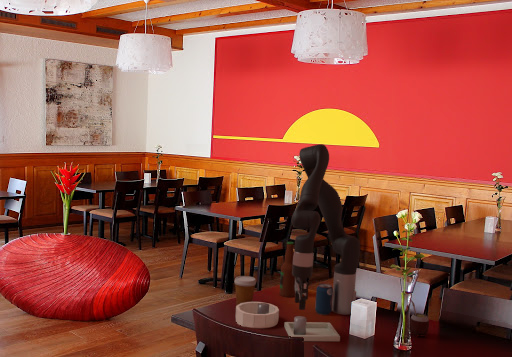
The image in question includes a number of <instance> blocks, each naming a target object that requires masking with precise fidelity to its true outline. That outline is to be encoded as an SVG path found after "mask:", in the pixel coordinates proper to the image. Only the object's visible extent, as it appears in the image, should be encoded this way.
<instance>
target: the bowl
mask: <svg viewBox="0 0 512 357" xmlns="http://www.w3.org/2000/svg"><path fill="white" fill-rule="evenodd" d="M258 303H264V302H262V301H252V302H245V303H240V304H239V305H237V304H236V306H235V323H236V322H237V323H236V324H237V325H238V326H240V325H241V327H243V328H252V329H268V328H272V327H275V326H276V325H277V324H278V322H279V316H280V314H279V313H280V309H279V308H278V306H276V305H274V304H272V303H267V302H266V303H267V304H269V313H268V314H257V309H258Z"/></svg>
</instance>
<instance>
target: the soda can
mask: <svg viewBox="0 0 512 357" xmlns="http://www.w3.org/2000/svg"><path fill="white" fill-rule="evenodd" d="M332 286H333V285H332V284H330V283H322V282H321V283H318V285H317V287H316V291H315V303H314V304H315V306H314V308H315V310H314V311H315V312H316V314H318V315H320V316H327V315H330V314H331V313H332V312H333V311H332V299H333V287H332Z"/></svg>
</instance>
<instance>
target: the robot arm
mask: <svg viewBox="0 0 512 357" xmlns="http://www.w3.org/2000/svg"><path fill="white" fill-rule="evenodd" d="M299 159H300V163H301V166H302V168H303V171H304V172H305V175H306V177H307V179H306V180H305V181H304V183H303V185H302V188H301V190H300V195H299V196H300V197H299V201H298V204H297V206H296V207H295V209H294V210H293V213H292V215H291V221H290V222H291V225H292V227H293V228H295V229H297V230H309V231H308V233H305V234H299V235H296V237H295V238H294V239H295V240H294V248H293V251H294V255H293V267H292V275H293V276H294V277H295V284H294V290H295V295H294V303H295V304H298V309H299V310H301V311H305V310H306V303H307V302H306V301H307V300H308V299H309V286H310V285H309V283H308V281H307V279H310V278H312V277H313V266H314V244H315V237H316V235H317V232H318V230H319V226H320V224H321V216H322V217H323V220H324V222H325V226H326V229H327V231H328V235H329V239H330V244H331V247H332V249H333V251H334V253H336V254H337V255H339V256H341V260H340V262H339V263H336V264H335V265H334V269H333V270H334V271H333V273H334V274H333V285H332V286H333V287H332V289H333V296H332V311H331V312H332V313H335V314H337V315H346V316H347V315H351V314H350V312H351V302H352V301H355V300H356V301H357V291H356V279H357V269H358V267H359V264H360V255H361V242H360V239H358V237H356V236H353V235H349V234H347V233H346V230H345V229H344V226H343V224H342V217H343V203H342V201H341V198H340V195H339V192H338V191H337V189H336V188H334V187H333V186H332V185H331V184H329V183H328V182H327V180H325V175H326V173H327V169H328V166H329V163H330V153H329V150H328V147H327V146H326V145H325V144H324V143H323V144H322V143H321V144H315V145H310V146H305V147H303V148H301V149H299ZM318 207H319V210H320V212H321V214H322V215H320V213H319V212H318V211H315V210H316V208H318Z"/></svg>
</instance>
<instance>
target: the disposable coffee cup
mask: <svg viewBox="0 0 512 357" xmlns="http://www.w3.org/2000/svg"><path fill="white" fill-rule="evenodd" d="M234 285H235V298H236V301H235V302H236V306H237V305H239V304H240V303H245V302H253V299H254V293H255V288H256V285H257V280H256V278H255V277H254V276H247V275H240V276H236V277H235V278H234Z"/></svg>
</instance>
